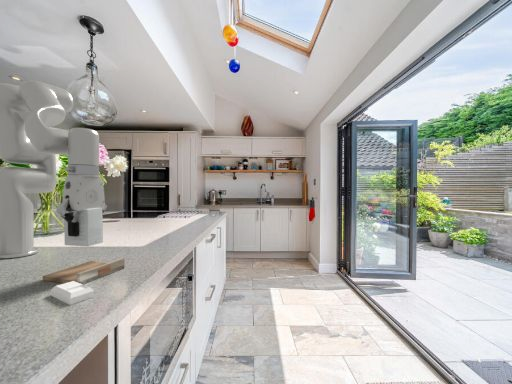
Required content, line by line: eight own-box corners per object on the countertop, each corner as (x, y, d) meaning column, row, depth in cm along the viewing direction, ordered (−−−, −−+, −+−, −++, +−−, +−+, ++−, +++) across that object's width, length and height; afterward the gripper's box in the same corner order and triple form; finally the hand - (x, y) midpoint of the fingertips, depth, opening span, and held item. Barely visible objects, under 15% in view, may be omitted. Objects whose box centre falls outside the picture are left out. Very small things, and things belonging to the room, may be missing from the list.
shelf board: (42, 279, 70) (42, 268, 70) (91, 264, 85) (91, 254, 85) (80, 285, 67) (80, 274, 67) (124, 268, 81) (125, 258, 81)
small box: (103, 242, 78) (103, 207, 78) (87, 247, 72) (87, 209, 72) (80, 241, 79) (80, 206, 79) (63, 245, 74) (63, 208, 74)
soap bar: (74, 289, 65) (74, 279, 65) (94, 298, 60) (94, 287, 60) (51, 297, 61) (50, 285, 61) (70, 306, 56) (70, 294, 56)
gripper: (64, 170, 66) (65, 240, 66) (117, 173, 83) (117, 230, 83) (42, 170, 68) (43, 238, 69) (98, 173, 85) (98, 228, 85)
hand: (84, 233), depth 76 cm, fingers closed on small box, 5 cm apart
